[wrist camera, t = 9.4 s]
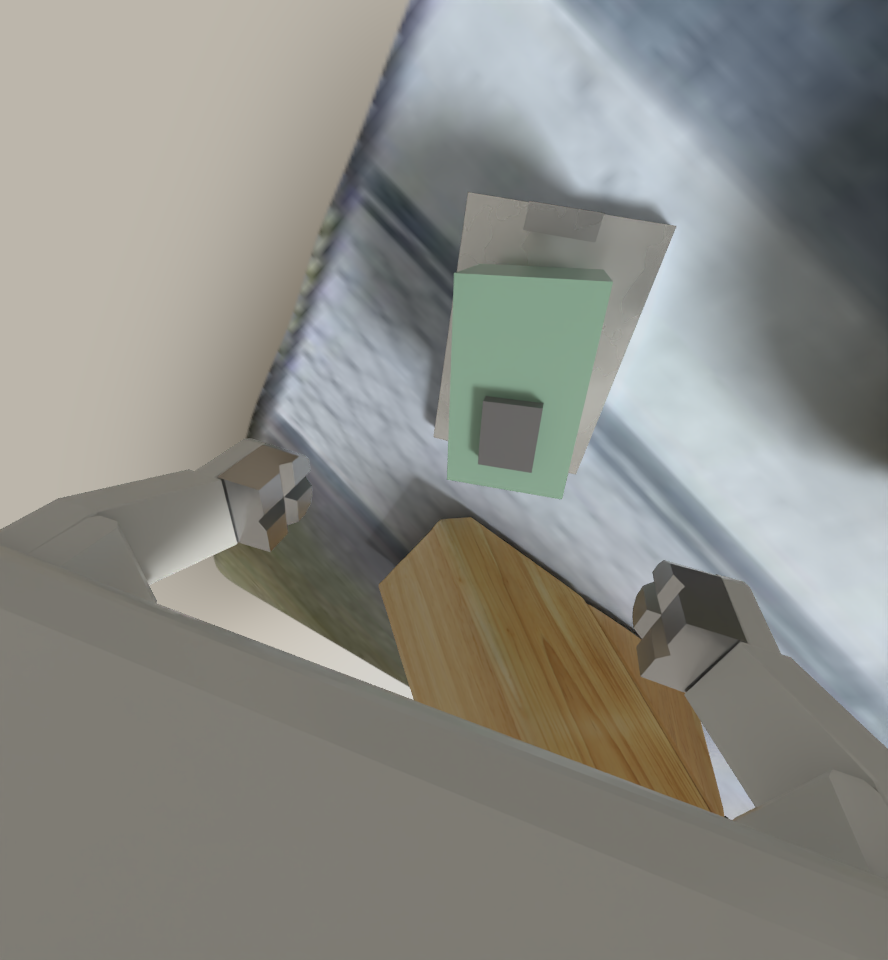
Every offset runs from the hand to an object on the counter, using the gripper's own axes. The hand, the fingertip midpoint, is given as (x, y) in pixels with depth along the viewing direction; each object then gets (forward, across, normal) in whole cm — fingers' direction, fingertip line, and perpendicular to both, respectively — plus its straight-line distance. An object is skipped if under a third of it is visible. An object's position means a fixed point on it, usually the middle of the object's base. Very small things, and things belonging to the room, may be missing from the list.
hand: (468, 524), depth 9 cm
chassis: (+18, 0, +1) cm, 18 cm away
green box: (+14, 0, 0) cm, 14 cm away
